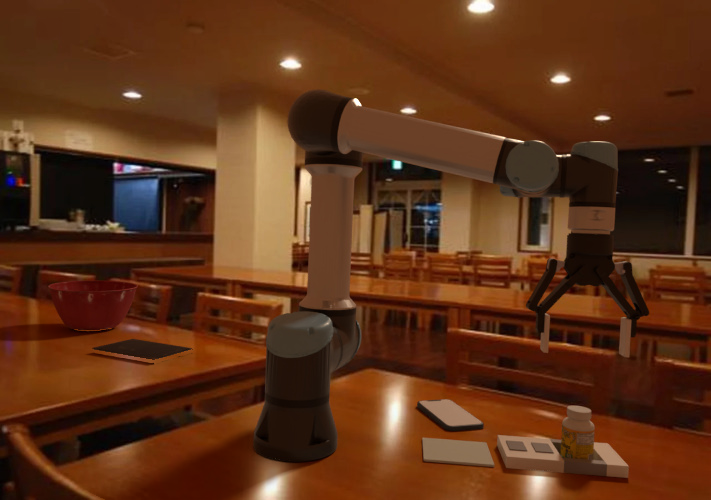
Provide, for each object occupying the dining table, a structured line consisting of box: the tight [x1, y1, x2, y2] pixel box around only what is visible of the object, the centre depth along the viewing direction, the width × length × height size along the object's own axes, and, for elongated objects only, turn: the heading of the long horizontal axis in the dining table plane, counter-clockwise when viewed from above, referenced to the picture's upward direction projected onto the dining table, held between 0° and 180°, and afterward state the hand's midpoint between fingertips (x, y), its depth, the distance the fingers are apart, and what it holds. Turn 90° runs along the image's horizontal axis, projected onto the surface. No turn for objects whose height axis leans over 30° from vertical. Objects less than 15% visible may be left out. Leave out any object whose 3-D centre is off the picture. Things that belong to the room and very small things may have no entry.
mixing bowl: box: [47, 280, 139, 330], centre depth 197 cm, size 28×28×16 cm
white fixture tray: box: [496, 434, 630, 479], centre depth 100 cm, size 20×10×2 cm, turn 85°
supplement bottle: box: [560, 405, 596, 460], centre depth 99 cm, size 5×5×10 cm
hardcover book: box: [91, 338, 194, 360], centre depth 165 cm, size 16×23×2 cm
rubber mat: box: [421, 437, 495, 468], centre depth 102 cm, size 12×10×1 cm
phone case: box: [416, 398, 485, 432], centre depth 121 cm, size 9×2×16 cm
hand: (583, 353), depth 99 cm, fingers open, 13 cm apart
